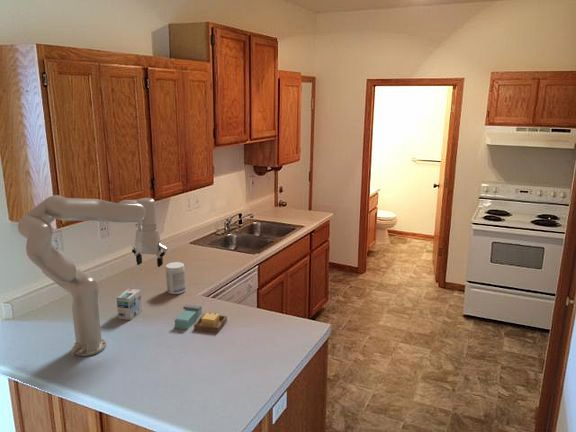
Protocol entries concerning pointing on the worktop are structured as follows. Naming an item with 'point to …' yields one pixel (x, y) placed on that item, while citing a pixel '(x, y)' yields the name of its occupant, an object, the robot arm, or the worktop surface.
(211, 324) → the stub
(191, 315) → the mint slotted bar
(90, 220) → the robot arm
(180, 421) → the worktop surface
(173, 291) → the supplement tub
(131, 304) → the light bulb box
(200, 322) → the tray
